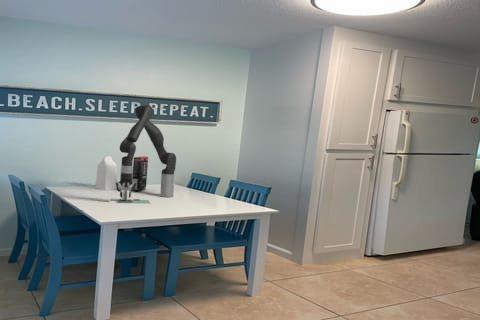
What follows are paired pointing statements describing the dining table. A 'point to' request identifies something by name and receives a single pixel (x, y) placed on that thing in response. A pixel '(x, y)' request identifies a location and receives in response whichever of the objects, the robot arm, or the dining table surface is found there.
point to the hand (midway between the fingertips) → (125, 197)
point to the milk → (106, 174)
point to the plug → (125, 195)
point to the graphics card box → (140, 173)
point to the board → (133, 201)
